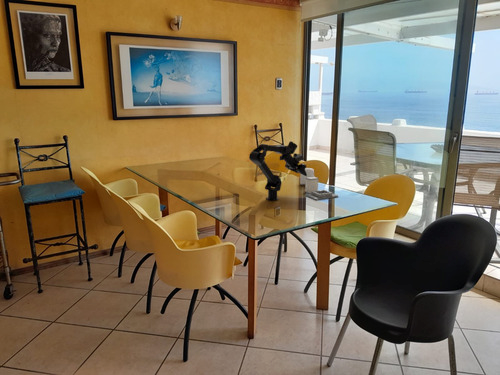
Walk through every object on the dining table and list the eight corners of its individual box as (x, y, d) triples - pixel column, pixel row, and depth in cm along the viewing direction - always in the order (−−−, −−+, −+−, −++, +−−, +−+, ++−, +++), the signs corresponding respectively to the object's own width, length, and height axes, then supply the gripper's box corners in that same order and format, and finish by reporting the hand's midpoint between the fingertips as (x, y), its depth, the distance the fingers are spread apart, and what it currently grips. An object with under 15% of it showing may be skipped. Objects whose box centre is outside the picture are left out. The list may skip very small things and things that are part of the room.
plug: (305, 191, 260) (305, 177, 257) (313, 190, 263) (314, 176, 260) (309, 193, 256) (310, 179, 253) (317, 192, 259) (318, 178, 256)
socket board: (305, 195, 249) (305, 191, 248) (326, 192, 257) (327, 188, 256) (315, 200, 238) (316, 195, 238) (338, 197, 246) (338, 192, 245)
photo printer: (300, 184, 279) (301, 168, 276) (299, 183, 283) (300, 167, 280) (314, 184, 279) (315, 168, 276) (313, 183, 283) (314, 167, 280)
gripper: (304, 152, 238) (318, 167, 245) (289, 148, 254) (302, 163, 262) (293, 165, 237) (307, 180, 244) (279, 160, 253) (292, 175, 260)
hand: (302, 174), depth 253 cm, fingers open, 9 cm apart
